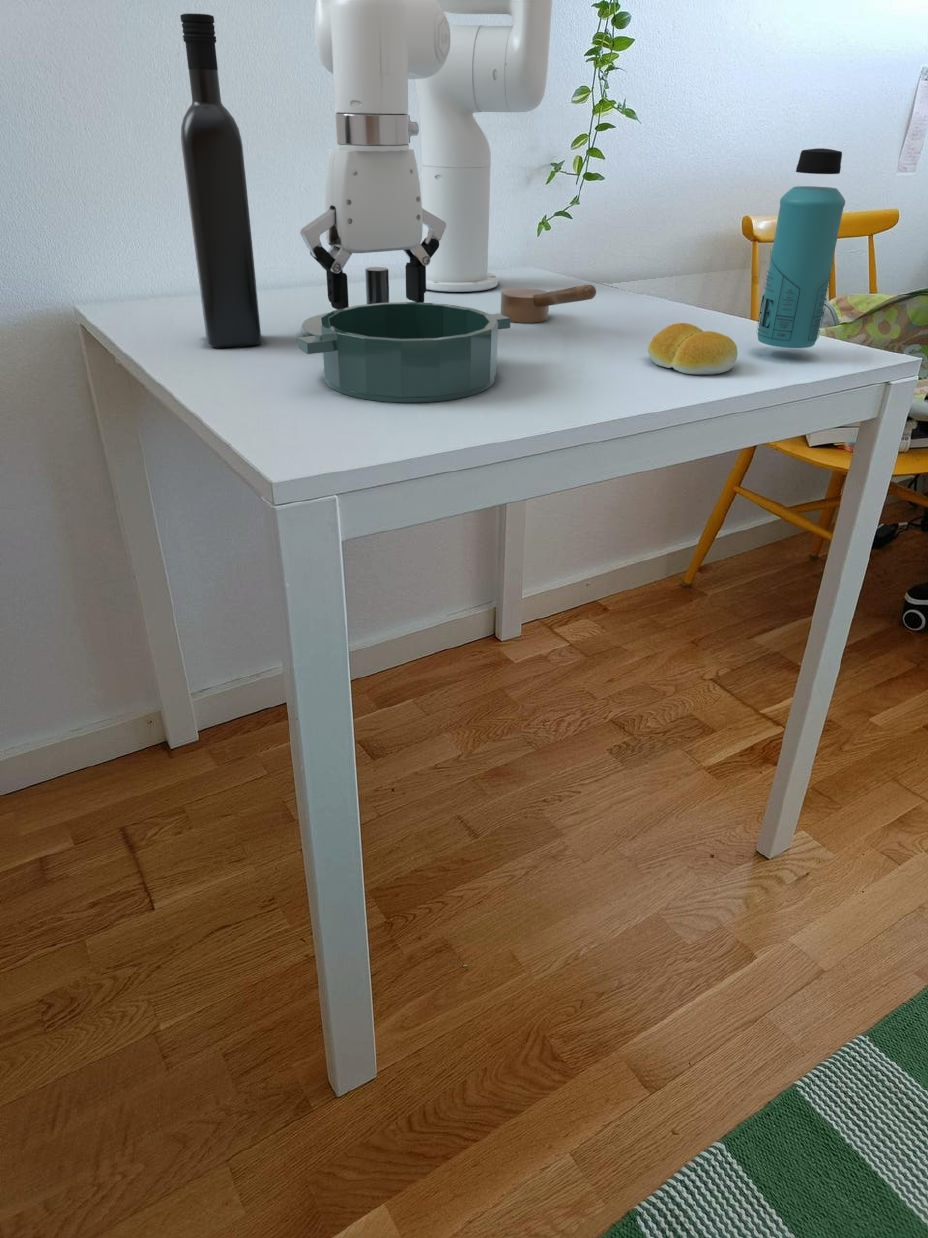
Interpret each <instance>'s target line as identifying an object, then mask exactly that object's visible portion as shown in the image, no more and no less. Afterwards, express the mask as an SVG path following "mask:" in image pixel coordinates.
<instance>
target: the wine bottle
mask: <svg viewBox="0 0 928 1238" xmlns="http://www.w3.org/2000/svg"><path fill="white" fill-rule="evenodd" d="M180 22H181V27H182V34H183V35H182V40H183V42H184V43H185V52H186V61H187V69H188V75H189V84H190V93H191V105H190V106H189V107H188V109H187V111H186V112H185V114H184V116H183V118H182V123H181V125H180V143H181V153H182V159H183V168H184V175H185V182H186V191H187V198H188V208H189V213H190V221H191V230H192V238H193V245H194V253H195V261H196V269H197V277H198V284H199V292H200V299H201V307H202V315H203V322H204V323H203V325H204V331H205V336H206V339H207V340H206V341H207V344H208V345H209V346H210V347H212V348H215V349H224V348H239V347H240V348H241V347H255V346H258V345H260V344H261V343H262V331H261V321H260V310H259V300H258V290H257V289H258V288H257V280H256V269H255V259H254V249H253V248H254V247H253V240H252V239H253V238H252V228H251V218H250V208H249V197H248V188H247V177H246V168H245V167H246V166H245V156H244V146H243V140H242V135H241V131H240V128H239V125H238V123H237V122H236V120H235V118H234V117H233V115H232V114H231V113H230V111H229V110H228V109H227V108H226V107H225V106H224V104H223V103H222V102H223V101H222V99H221V97H222V96H221V87H220V78H219V70H218V69H219V68H218V59H217V51H216V43H217V36H215V35H216V30H215V25H214V24H215V17H214V15H212V14H207V13H182V14H180Z"/></svg>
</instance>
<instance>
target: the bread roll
mask: <svg viewBox="0 0 928 1238" xmlns="http://www.w3.org/2000/svg"><path fill="white" fill-rule="evenodd" d="M647 344H648V345H647V353H648V356H649V358H650V360H651V361H652V362H653V363H654V364H655V365H657V366H660V367H663V368H666V369H667V368H668V369H671V368H673V369H674V370H675V371H676V372H677V371H678V372H680V373H681V374H687V375H719V374H722V373H726V372H729V371H730V370H731V369H733V367H734V366H735V365H736V360H737V358H738V348H737V345H736V343H735V341H734V340H733V339H732V338H731V337H730V336H727V335H725V334H722V333H719V332H716V331H711V330H706V331H704V330H702V329H701V328H700V327H698V326H697V325H694V324H691V323H687V322H678V323H677V322H676V323H672V324H670V325H668V326H666V327H664V328H662V329H661V331H659V332H657V334H655V335H654V336H653V337H652V338H651V339H650V341H649V342H648V343H647Z"/></svg>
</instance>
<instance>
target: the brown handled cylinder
mask: <svg viewBox="0 0 928 1238" xmlns="http://www.w3.org/2000/svg"><path fill="white" fill-rule="evenodd" d="M596 295H597V288H596V286H595V285H593V284H583V285H577V286H573V287H567V288H560V289H555V290H549V291H546V290H543V289H538V288H529V287H528V288H527V287H526V288H524V287H520V288H519V287H518V288H508V289H504V290H501V292H500V311H499V312H500V313H499V314H500V315H503V316H506V317H508V318H511V321H510V323H518V324H535V323H536V324H537V323H543V322H546V321H547V320H548V319H549V309H550V307H549V306H558V305H564V304H569V303H570V304H571V303H576V302H582V301H583V302H584V301H588V300H592V299H594V298H595V297H596Z"/></svg>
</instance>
